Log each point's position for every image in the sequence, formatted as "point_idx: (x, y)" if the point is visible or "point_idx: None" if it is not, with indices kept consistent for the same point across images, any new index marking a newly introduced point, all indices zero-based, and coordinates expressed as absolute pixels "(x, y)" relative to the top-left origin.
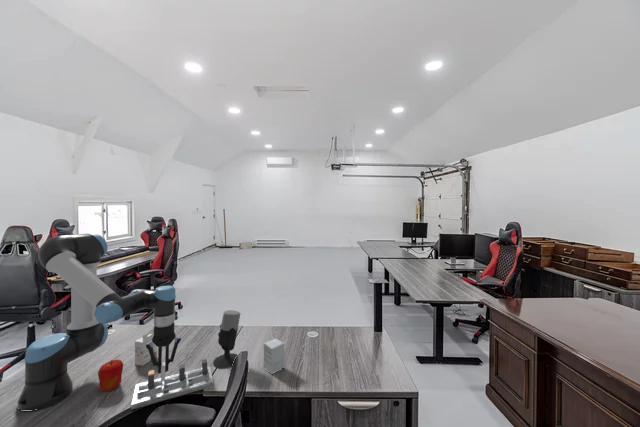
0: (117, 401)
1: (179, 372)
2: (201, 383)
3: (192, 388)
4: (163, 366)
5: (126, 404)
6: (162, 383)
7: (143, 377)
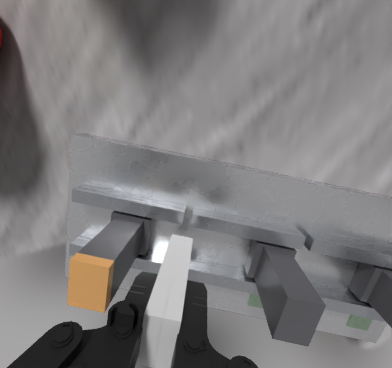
0: (25, 179)
1: (265, 315)
2: (329, 324)
3: None
4: (156, 361)
5: (59, 221)
6: (185, 213)
7: (117, 36)
